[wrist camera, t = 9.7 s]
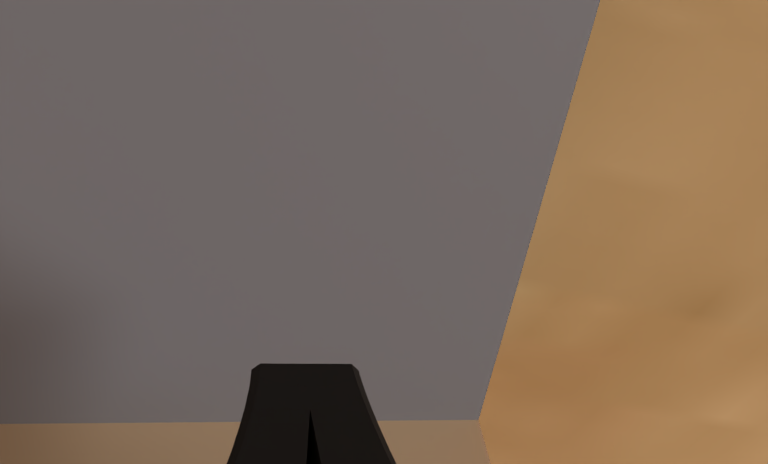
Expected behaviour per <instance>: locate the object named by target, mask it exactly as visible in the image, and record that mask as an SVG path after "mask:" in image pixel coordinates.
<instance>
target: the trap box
mask: <svg viewBox="0 0 768 464" xmlns="http://www.w3.org/2000/svg"><path fill="white" fill-rule="evenodd" d="M599 2H600V0H0V464H227V461H228V459H229V456H230V454H231V451H232V448H233V445H234V441H235V438H236V435H237V432H238V429H239V426H240V423H241V419H242V416H243V412H244V408H245V404H246V400H247V395H248V391H249V385H250V377H251V370H252V369H253V368H255V367H256V366H257V365H259V364H260V363H271V364H352V365H353V366H354V367H355V368H357V369H358V370H359V374H360V377H361V380H362V383H363V386H364V389H365V392H366V394H367V397H368V400H369V402H370V405H371V408H372V410H373V413H374V415H375V417H376V420H377V422H378V425H379V427H380V429H381V431H382V434H383V436H384V438H385V440H386V443H387V445H388V447H389V449H390V451H391V453H392V456H393V458H394V460H395V462H396V464H491V463H490V460H489V456H488V453H487V449H486V445H485V442H484V438H483V435H482V431H481V428H480V424H479V421H478V419H479V416H480V412H481V409H482V405H483V402H484V399H485V395H486V392H487V388H488V385H489V381H490V378H491V374H492V371H493V367H494V364H495V361H496V357H497V354H498V350H499V347H500V343H501V340H502V336H503V333H504V330H505V326H506V323H507V319H508V316H509V312H510V309H511V305H512V302H513V299H514V295H515V292H516V288H517V285H518V281H519V278H520V274H521V271H522V268H523V264H524V261H525V257H526V254H527V250H528V247H529V243H530V240H531V237H532V233H533V230H534V226H535V223H536V219H537V216H538V212H539V209H540V206H541V202H542V199H543V195H544V192H545V188H546V185H547V181H548V178H549V175H550V171H551V168H552V164H553V161H554V157H555V154H556V150H557V147H558V143H559V140H560V137H561V133H562V130H563V126H564V123H565V119H566V116H567V112H568V109H569V106H570V102H571V99H572V95H573V92H574V88H575V85H576V81H577V78H578V75H579V71H580V68H581V64H582V61H583V57H584V54H585V50H586V47H587V44H588V40H589V37H590V33H591V30H592V26H593V23H594V19H595V16H596V13H597V9H598V6H599Z"/></svg>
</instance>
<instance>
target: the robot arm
mask: <svg viewBox="0 0 768 464" xmlns="http://www.w3.org/2000/svg"><path fill="white" fill-rule="evenodd" d="M227 464H396V462H395V460H394V458H393V456H392V453H391V451H390V449H389V447H388V445H387V443H386V440H385V438H384V436H383V434H382V431H381V429H380V427H379V425H378V422H377V420H376V417H375V415H374V413H373V410H372V408H371V405H370V402H369V400H368V397H367V394H366V392H365V389H364V386H363V383H362V380H361V377H360V374H359V370H358V369H357V368H355V367H354V366H353V365H352V364H271V363H260V364H259V365H257V366H256V367H255V368H253V369H252V370H251V377H250V385H249V391H248V395H247V400H246V404H245V408H244V412H243V416H242V419H241V423H240V426H239V429H238V432H237V435H236V438H235V441H234V445H233V448H232V451H231V454H230V456H229V459H228V461H227Z"/></svg>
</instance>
